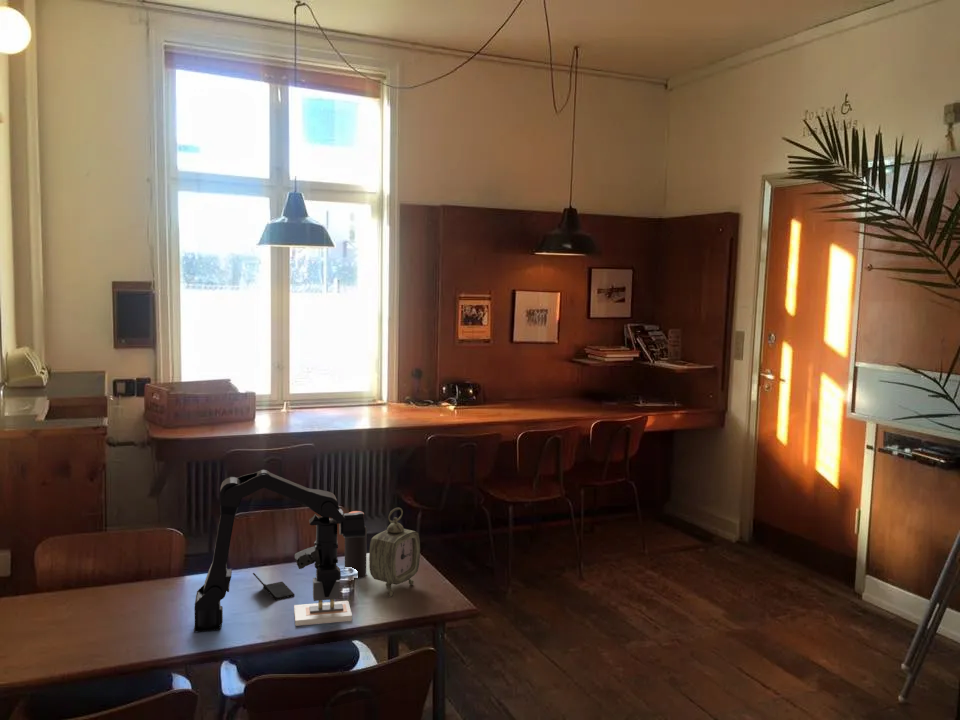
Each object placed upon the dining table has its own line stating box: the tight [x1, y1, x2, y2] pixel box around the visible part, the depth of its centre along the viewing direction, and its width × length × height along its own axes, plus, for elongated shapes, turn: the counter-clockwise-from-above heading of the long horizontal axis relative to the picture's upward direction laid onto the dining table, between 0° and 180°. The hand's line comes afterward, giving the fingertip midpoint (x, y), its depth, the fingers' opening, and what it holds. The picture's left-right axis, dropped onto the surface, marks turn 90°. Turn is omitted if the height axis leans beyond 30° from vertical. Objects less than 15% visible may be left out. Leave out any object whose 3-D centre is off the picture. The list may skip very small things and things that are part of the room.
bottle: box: [344, 510, 368, 579], centre depth 242 cm, size 7×7×20 cm
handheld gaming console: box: [252, 572, 295, 601], centre depth 227 cm, size 12×7×10 cm
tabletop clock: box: [368, 507, 421, 598], centre depth 232 cm, size 14×9×25 cm, turn 150°
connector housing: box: [312, 577, 341, 602], centre depth 213 cm, size 7×4×5 cm, turn 105°
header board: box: [293, 599, 353, 627], centre depth 213 cm, size 15×10×5 cm, turn 105°
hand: (326, 593), depth 213 cm, fingers closed on connector housing, 4 cm apart
